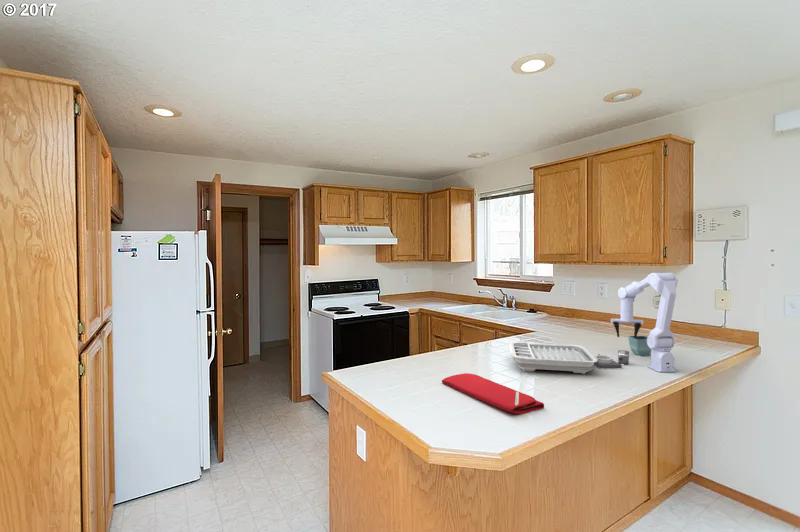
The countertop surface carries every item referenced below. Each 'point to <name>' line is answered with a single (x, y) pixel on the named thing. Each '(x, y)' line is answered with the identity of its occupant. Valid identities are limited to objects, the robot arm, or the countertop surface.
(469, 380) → the red folded towel
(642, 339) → the flower pot
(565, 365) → the dish rack
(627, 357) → the lens
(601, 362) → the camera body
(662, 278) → the robot arm
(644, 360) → the countertop surface
